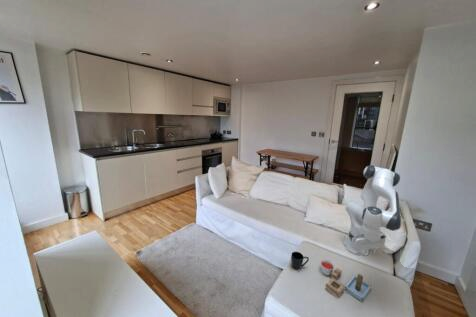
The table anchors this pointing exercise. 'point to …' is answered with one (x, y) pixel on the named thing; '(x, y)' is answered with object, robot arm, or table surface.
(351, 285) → the tray
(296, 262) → the mug
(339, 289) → the socket block
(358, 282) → the dowel
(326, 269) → the candle
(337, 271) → the block
